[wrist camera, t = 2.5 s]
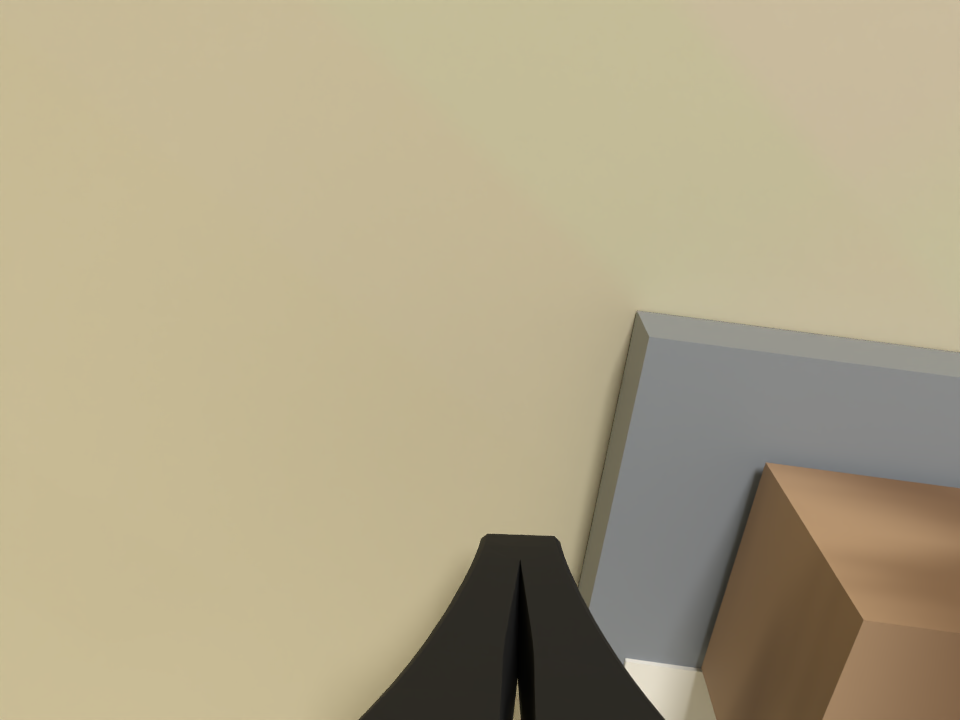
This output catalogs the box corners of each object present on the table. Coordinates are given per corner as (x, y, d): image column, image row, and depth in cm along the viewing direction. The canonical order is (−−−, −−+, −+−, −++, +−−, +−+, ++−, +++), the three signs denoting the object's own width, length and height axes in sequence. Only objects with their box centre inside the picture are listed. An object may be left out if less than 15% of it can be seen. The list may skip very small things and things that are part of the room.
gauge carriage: (1040, 498, 13) (1285, 699, 9) (912, 756, 15) (1054, 1007, 11) (766, 462, 13) (877, 643, 9) (683, 724, 15) (739, 961, 11)
